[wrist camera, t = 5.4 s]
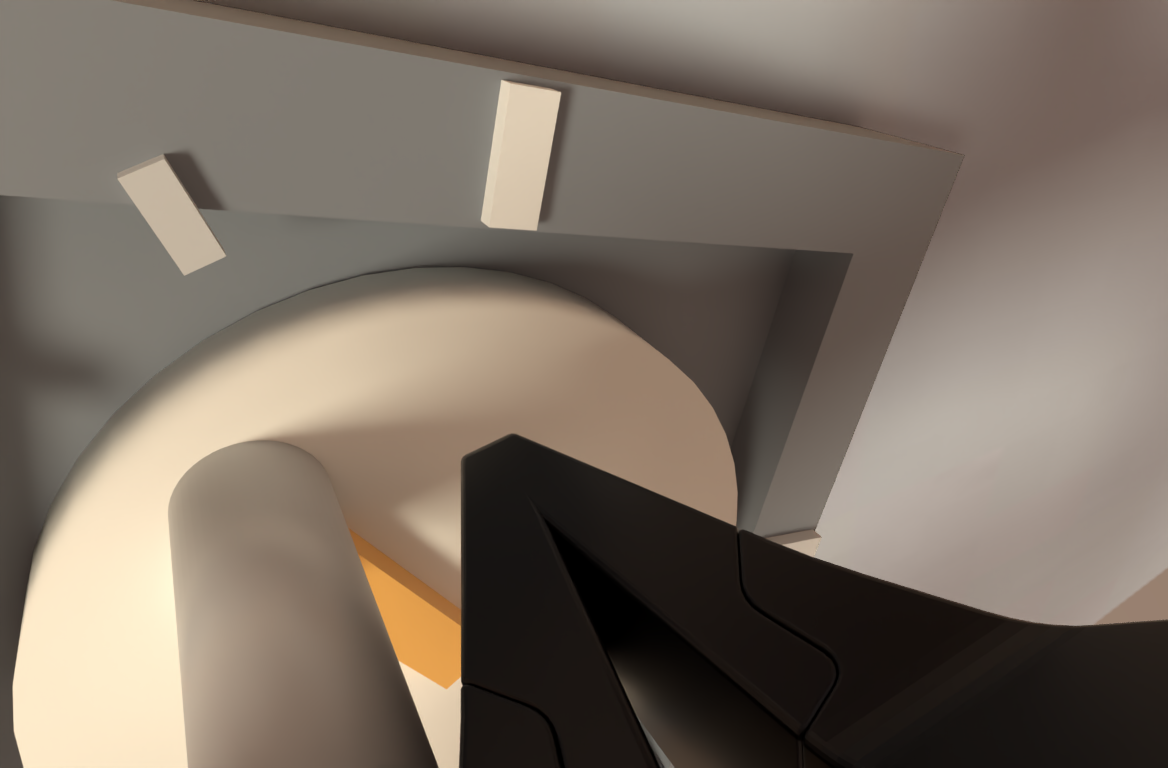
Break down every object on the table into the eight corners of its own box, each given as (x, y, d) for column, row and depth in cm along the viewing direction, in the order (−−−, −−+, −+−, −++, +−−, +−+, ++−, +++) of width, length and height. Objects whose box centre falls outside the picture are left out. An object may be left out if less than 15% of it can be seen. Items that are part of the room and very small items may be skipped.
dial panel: (658, 726, 24) (716, 812, 21) (-113, 975, 15) (-156, 1170, 12) (861, 127, 16) (982, 160, 14) (-453, -123, 7) (-722, -147, 5)
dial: (757, 516, 19) (1001, 742, 13) (377, 857, 18) (481, 1238, 13) (488, 100, 11) (820, 257, 6) (-206, 671, 10) (-550, 1456, 5)
